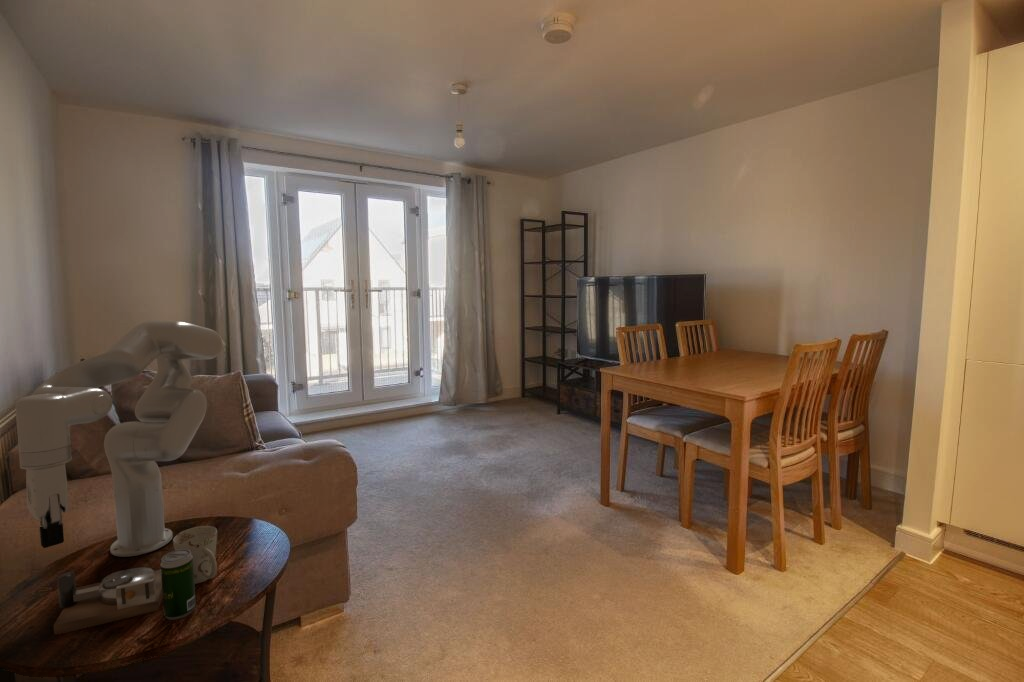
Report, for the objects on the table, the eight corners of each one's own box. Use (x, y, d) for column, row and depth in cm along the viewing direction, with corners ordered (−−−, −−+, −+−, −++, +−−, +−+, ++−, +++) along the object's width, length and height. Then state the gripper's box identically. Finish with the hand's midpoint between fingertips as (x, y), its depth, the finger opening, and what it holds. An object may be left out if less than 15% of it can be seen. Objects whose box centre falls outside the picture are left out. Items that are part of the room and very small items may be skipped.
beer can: (201, 602, 102) (198, 547, 100) (187, 620, 96) (183, 562, 95) (174, 604, 101) (170, 549, 100) (158, 621, 96) (153, 563, 94)
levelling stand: (76, 596, 103) (74, 567, 102) (168, 576, 111) (166, 549, 110) (53, 637, 91) (49, 605, 90) (157, 612, 98) (155, 582, 98)
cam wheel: (158, 573, 108) (156, 547, 107) (150, 596, 100) (148, 569, 99) (67, 592, 101) (65, 565, 100) (51, 619, 93) (48, 589, 92)
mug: (207, 562, 116) (204, 522, 115) (238, 578, 110) (235, 536, 109) (168, 580, 109) (165, 538, 108) (199, 598, 103) (196, 554, 102)
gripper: (13, 453, 99) (20, 540, 101) (27, 469, 90) (34, 564, 92) (62, 444, 105) (68, 526, 107) (80, 459, 96) (86, 548, 98)
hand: (52, 544), depth 100 cm, fingers closed
